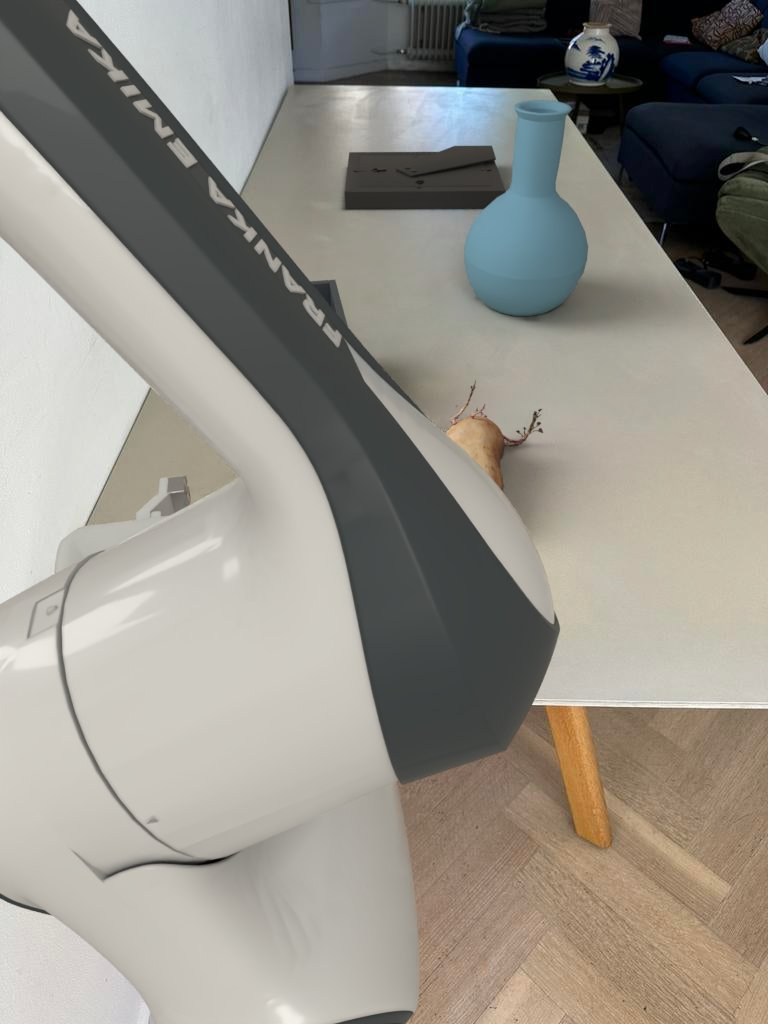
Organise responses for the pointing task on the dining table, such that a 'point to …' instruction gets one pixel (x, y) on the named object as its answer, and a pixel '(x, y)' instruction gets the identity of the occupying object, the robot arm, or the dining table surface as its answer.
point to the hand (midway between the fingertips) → (256, 475)
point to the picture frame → (423, 179)
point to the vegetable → (485, 439)
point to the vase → (528, 224)
